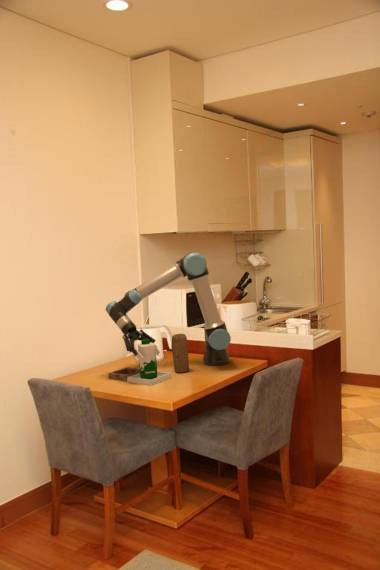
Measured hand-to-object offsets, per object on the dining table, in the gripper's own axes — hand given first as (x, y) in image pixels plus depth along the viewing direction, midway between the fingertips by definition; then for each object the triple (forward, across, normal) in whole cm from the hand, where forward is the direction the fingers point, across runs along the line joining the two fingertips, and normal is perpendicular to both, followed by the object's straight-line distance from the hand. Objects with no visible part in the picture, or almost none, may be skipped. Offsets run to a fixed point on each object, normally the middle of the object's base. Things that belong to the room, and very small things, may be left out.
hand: (150, 356), depth 277 cm
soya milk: (+7, 0, -10) cm, 12 cm away
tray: (+8, 0, -10) cm, 12 cm away
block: (+10, -22, -8) cm, 25 cm away
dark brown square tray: (-4, 0, -21) cm, 21 cm away
